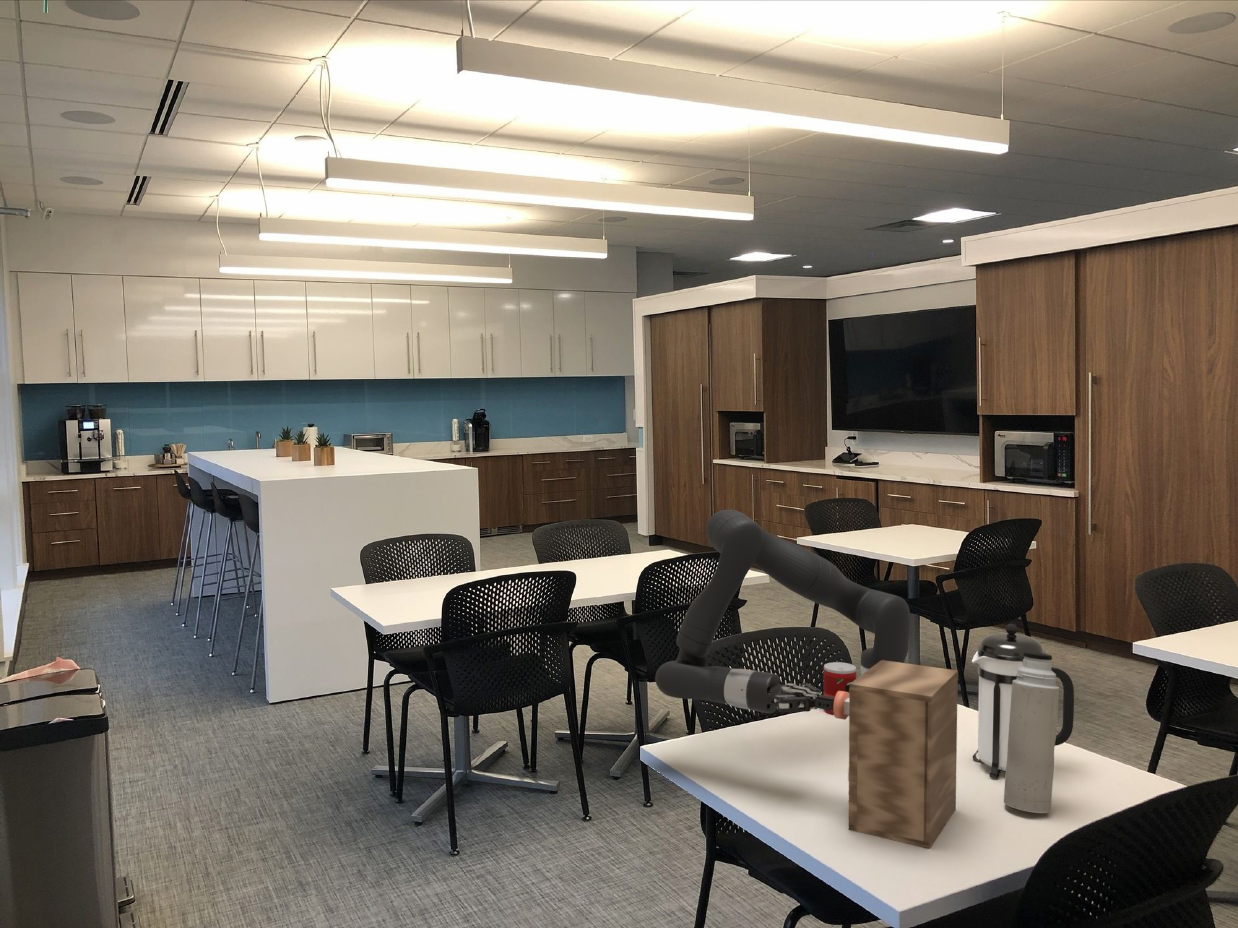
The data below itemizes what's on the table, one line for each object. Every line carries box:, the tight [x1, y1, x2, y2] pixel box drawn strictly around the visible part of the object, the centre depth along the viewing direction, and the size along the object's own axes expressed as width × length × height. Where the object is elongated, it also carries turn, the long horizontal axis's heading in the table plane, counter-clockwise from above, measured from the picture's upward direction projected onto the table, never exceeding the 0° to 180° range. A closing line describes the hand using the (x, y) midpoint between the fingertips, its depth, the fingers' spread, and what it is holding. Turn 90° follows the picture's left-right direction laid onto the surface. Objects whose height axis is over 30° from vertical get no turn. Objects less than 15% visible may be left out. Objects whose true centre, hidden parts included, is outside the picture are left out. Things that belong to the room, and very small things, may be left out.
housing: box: [848, 660, 959, 849], centre depth 173 cm, size 14×18×26 cm
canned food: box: [823, 661, 857, 717], centre depth 233 cm, size 8×8×11 cm
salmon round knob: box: [833, 691, 849, 721], centre depth 175 cm, size 14×5×5 cm, turn 57°
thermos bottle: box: [1003, 652, 1060, 814], centre depth 178 cm, size 8×8×28 cm
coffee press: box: [971, 623, 1075, 780], centre depth 196 cm, size 17×16×30 cm
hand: (838, 704), depth 179 cm, fingers closed
